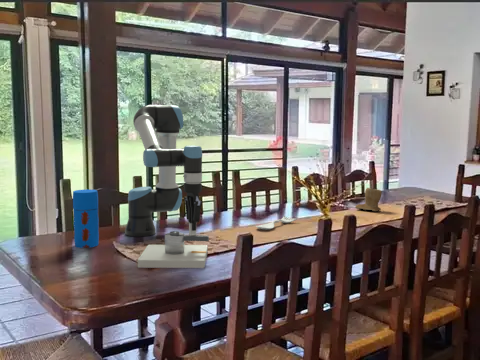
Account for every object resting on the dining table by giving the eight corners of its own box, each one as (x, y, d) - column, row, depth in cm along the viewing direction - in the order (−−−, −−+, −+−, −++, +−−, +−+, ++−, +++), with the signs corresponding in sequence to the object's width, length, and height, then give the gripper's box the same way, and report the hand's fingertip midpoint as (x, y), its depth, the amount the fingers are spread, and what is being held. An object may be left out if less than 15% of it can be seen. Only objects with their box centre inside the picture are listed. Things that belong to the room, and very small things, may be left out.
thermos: (73, 248, 219) (71, 193, 216) (74, 242, 229) (73, 189, 226) (99, 247, 222) (97, 192, 219) (99, 241, 232) (97, 189, 229)
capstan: (163, 254, 200) (163, 234, 199) (166, 249, 208) (166, 230, 207) (207, 254, 200) (207, 234, 199) (209, 249, 207) (209, 230, 206)
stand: (137, 267, 192) (137, 259, 192) (148, 251, 216) (148, 243, 215) (204, 268, 192) (204, 259, 192) (207, 251, 216) (207, 244, 216)
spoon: (297, 223, 281) (298, 217, 280) (266, 232, 255) (266, 226, 255) (284, 220, 286) (284, 215, 286) (252, 230, 261) (252, 223, 260)
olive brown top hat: (384, 210, 321) (385, 188, 319) (375, 213, 312) (376, 189, 310) (363, 207, 331) (364, 185, 329) (354, 210, 322) (355, 187, 320)
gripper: (178, 181, 210) (178, 235, 213) (191, 185, 199) (191, 242, 202) (194, 180, 213) (194, 233, 217) (207, 184, 202) (207, 239, 205)
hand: (192, 237), depth 209 cm, fingers closed
